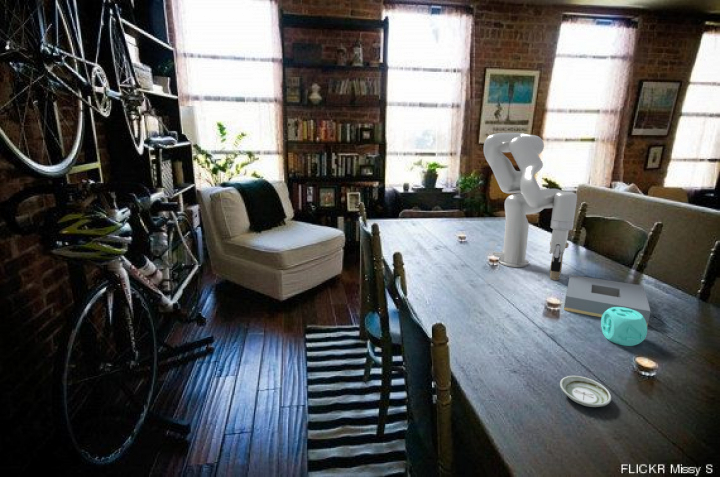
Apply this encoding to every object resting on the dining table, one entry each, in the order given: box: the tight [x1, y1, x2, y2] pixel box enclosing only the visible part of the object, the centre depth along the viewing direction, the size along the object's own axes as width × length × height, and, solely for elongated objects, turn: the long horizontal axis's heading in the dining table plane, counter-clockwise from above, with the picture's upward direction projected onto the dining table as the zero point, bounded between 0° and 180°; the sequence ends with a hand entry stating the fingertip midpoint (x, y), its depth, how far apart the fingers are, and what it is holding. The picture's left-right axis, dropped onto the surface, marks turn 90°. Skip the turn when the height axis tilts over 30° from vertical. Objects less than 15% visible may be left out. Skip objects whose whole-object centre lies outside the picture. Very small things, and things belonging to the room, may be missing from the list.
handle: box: [549, 241, 570, 281], centre depth 145 cm, size 5×6×15 cm
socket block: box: [563, 274, 651, 327], centre depth 124 cm, size 22×22×5 cm
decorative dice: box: [600, 307, 648, 347], centre depth 103 cm, size 8×8×8 cm
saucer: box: [559, 375, 612, 408], centre depth 81 cm, size 10×10×2 cm
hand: (555, 268), depth 146 cm, fingers closed on handle, 3 cm apart
